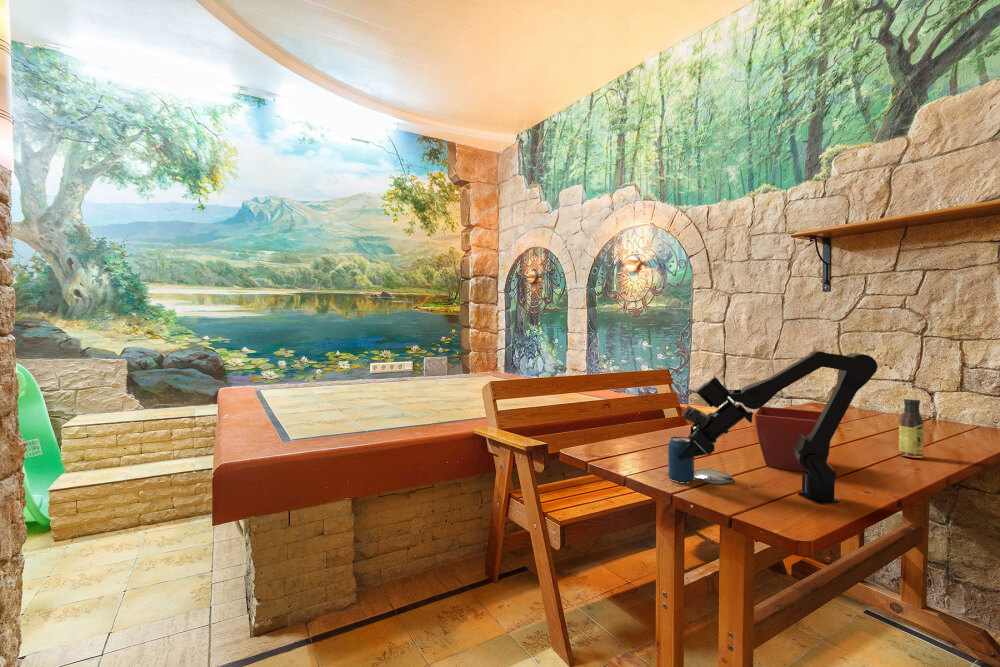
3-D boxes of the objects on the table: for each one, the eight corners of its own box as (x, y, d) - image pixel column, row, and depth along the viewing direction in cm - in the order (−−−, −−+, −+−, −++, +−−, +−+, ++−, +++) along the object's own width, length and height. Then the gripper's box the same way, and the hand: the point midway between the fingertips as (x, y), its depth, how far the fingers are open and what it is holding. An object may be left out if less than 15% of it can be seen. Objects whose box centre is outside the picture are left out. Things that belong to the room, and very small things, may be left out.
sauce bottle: (922, 461, 148) (923, 401, 147) (897, 456, 153) (898, 399, 152) (924, 457, 152) (925, 399, 152) (900, 453, 157) (901, 396, 156)
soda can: (699, 483, 126) (699, 441, 126) (676, 485, 125) (676, 442, 125) (684, 475, 133) (685, 435, 133) (663, 476, 132) (663, 436, 131)
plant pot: (759, 453, 156) (760, 405, 156) (826, 463, 145) (827, 411, 145) (753, 467, 141) (753, 414, 140) (828, 479, 130) (829, 422, 129)
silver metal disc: (741, 483, 126) (741, 480, 126) (707, 485, 124) (707, 482, 124) (715, 470, 137) (715, 467, 137) (683, 473, 135) (683, 470, 135)
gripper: (700, 393, 135) (661, 425, 140) (701, 403, 118) (656, 439, 123) (729, 421, 132) (688, 453, 137) (734, 436, 115) (687, 472, 120)
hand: (679, 453), depth 129 cm, fingers open, 9 cm apart
